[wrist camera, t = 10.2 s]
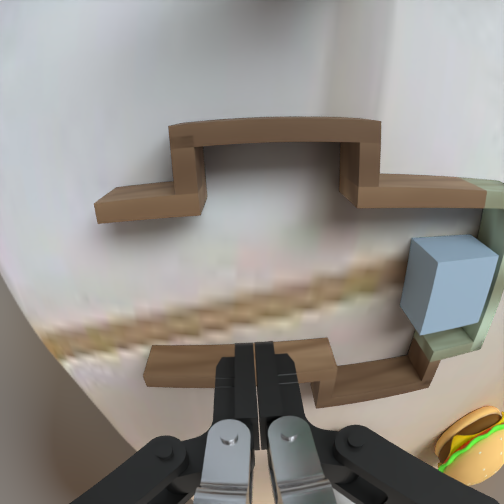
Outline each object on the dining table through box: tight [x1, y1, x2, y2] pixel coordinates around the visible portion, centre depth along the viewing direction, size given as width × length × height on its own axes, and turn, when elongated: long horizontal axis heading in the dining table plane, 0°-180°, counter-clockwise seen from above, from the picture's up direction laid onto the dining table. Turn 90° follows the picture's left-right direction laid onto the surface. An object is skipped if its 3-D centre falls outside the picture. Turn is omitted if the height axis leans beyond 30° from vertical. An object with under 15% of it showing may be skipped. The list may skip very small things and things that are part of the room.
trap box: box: [94, 117, 504, 408], centre depth 17 cm, size 18×24×3 cm
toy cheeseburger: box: [435, 406, 504, 486], centre depth 26 cm, size 12×12×9 cm
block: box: [400, 234, 499, 335], centre depth 18 cm, size 5×5×4 cm
